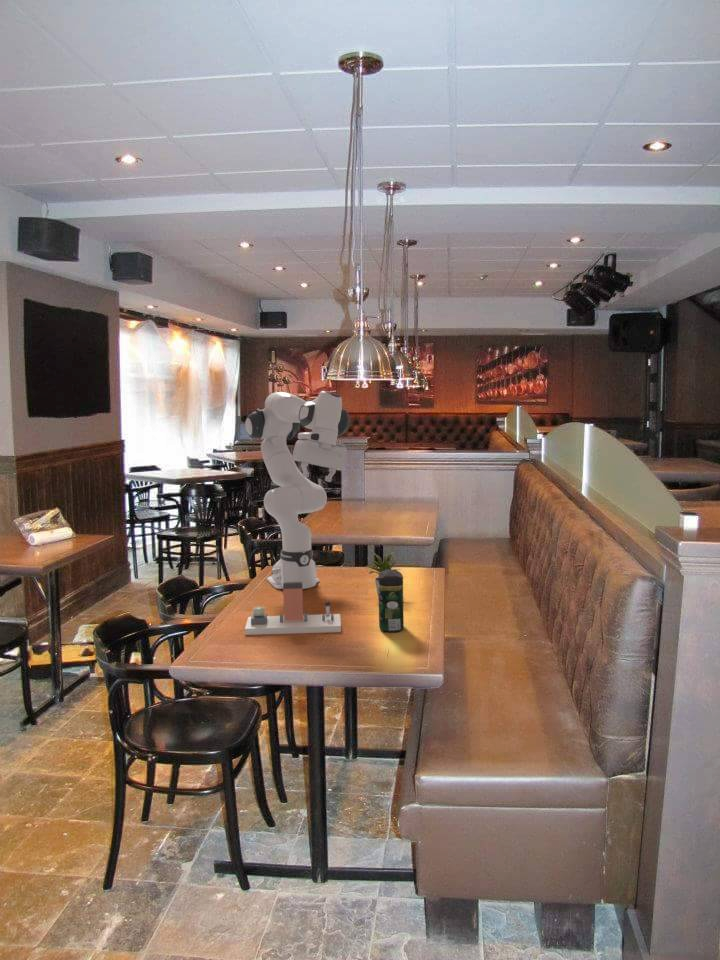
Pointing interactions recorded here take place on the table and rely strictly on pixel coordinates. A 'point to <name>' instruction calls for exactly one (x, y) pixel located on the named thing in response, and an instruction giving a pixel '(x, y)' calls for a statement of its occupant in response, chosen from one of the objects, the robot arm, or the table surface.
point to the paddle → (293, 600)
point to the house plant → (382, 566)
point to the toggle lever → (327, 608)
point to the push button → (258, 611)
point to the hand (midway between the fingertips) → (316, 479)
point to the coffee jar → (390, 600)
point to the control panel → (292, 624)
